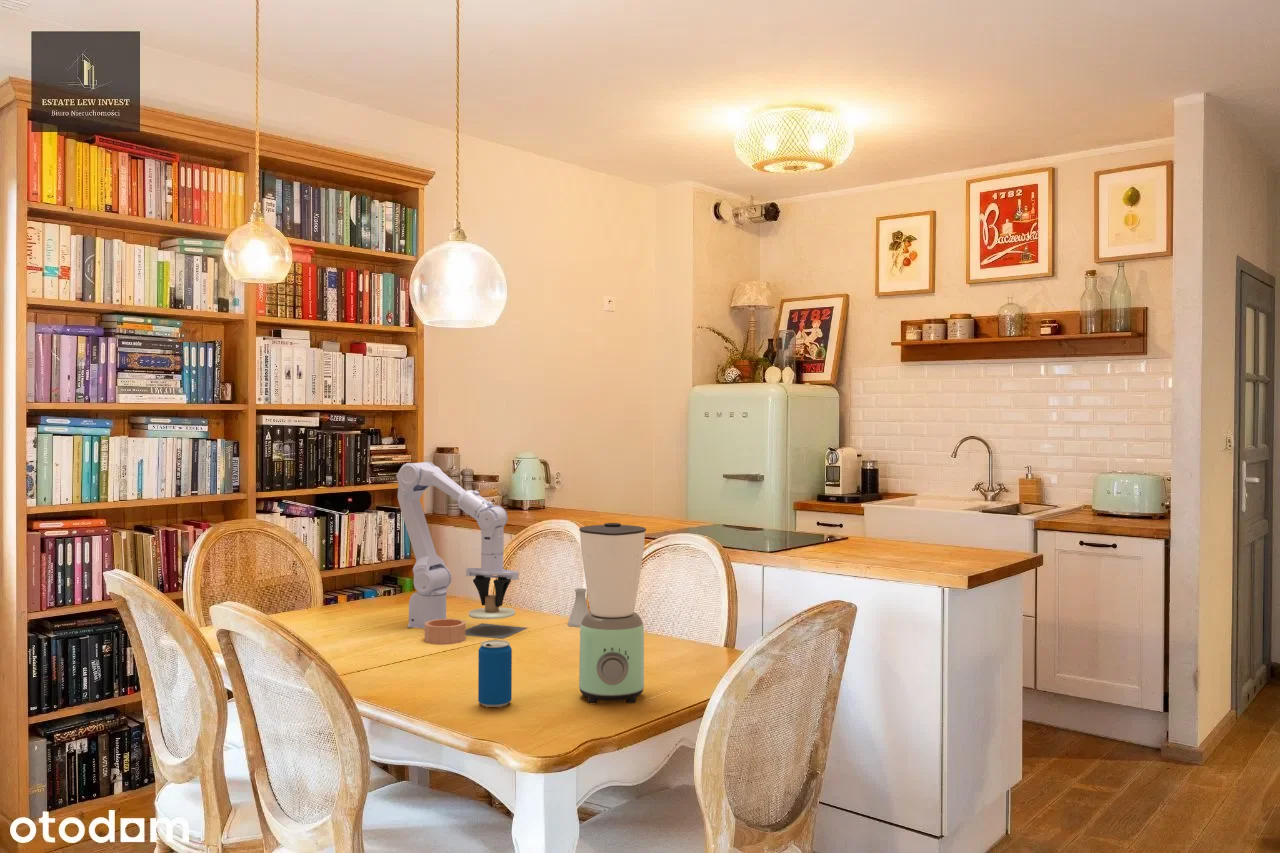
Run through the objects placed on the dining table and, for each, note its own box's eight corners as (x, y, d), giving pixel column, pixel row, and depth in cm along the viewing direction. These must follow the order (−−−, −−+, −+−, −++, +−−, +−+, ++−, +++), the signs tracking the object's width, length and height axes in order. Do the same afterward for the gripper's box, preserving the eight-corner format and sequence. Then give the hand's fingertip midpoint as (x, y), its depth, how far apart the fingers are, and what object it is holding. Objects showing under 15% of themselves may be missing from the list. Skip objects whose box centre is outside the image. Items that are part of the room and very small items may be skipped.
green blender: (648, 708, 193) (649, 528, 193) (578, 709, 192) (580, 528, 192) (640, 682, 212) (641, 518, 212) (577, 683, 211) (578, 518, 211)
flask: (595, 623, 271) (595, 587, 271) (591, 629, 264) (591, 591, 264) (569, 622, 272) (569, 586, 271) (564, 628, 264) (565, 591, 264)
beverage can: (479, 699, 198) (479, 639, 198) (512, 699, 199) (512, 639, 199) (476, 709, 192) (477, 647, 192) (510, 708, 192) (511, 646, 192)
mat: (454, 635, 255) (454, 634, 255) (481, 624, 268) (481, 623, 268) (502, 640, 250) (502, 638, 250) (528, 629, 263) (528, 627, 263)
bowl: (416, 643, 246) (416, 625, 246) (438, 635, 255) (438, 617, 255) (451, 647, 243) (452, 628, 243) (472, 638, 252) (473, 620, 252)
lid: (459, 617, 255) (459, 598, 255) (483, 609, 267) (482, 591, 267) (501, 620, 251) (501, 601, 251) (523, 611, 263) (523, 593, 262)
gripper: (460, 553, 258) (459, 605, 258) (509, 557, 252) (509, 610, 253) (473, 550, 264) (473, 601, 264) (522, 553, 259) (522, 605, 259)
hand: (491, 605), depth 259 cm, fingers closed on lid, 4 cm apart
